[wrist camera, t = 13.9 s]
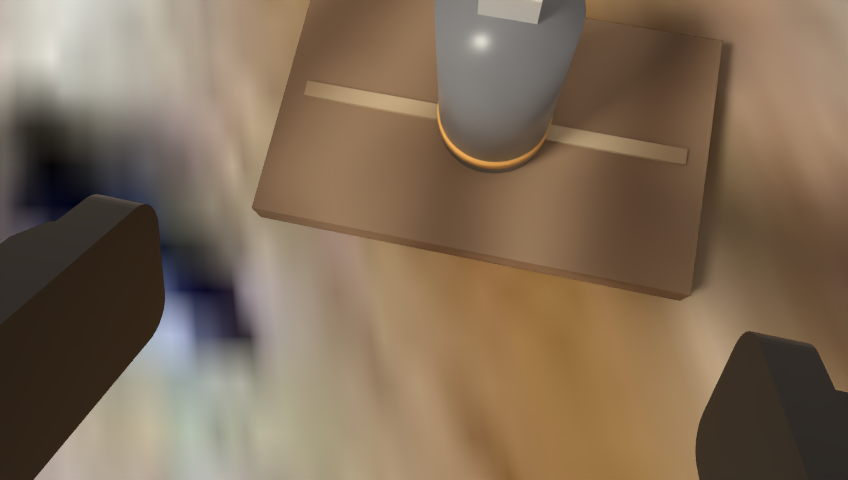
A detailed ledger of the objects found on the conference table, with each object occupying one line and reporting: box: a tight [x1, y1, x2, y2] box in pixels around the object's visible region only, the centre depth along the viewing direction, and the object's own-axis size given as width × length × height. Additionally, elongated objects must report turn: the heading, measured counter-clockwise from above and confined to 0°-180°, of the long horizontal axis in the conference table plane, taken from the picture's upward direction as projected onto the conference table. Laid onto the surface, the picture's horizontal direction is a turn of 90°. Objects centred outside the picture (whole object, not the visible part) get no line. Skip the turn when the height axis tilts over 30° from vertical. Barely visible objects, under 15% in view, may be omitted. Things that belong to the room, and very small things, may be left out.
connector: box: [434, 0, 586, 173], centre depth 21 cm, size 4×4×9 cm
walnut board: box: [252, 0, 723, 301], centre depth 26 cm, size 16×10×1 cm, turn 78°
